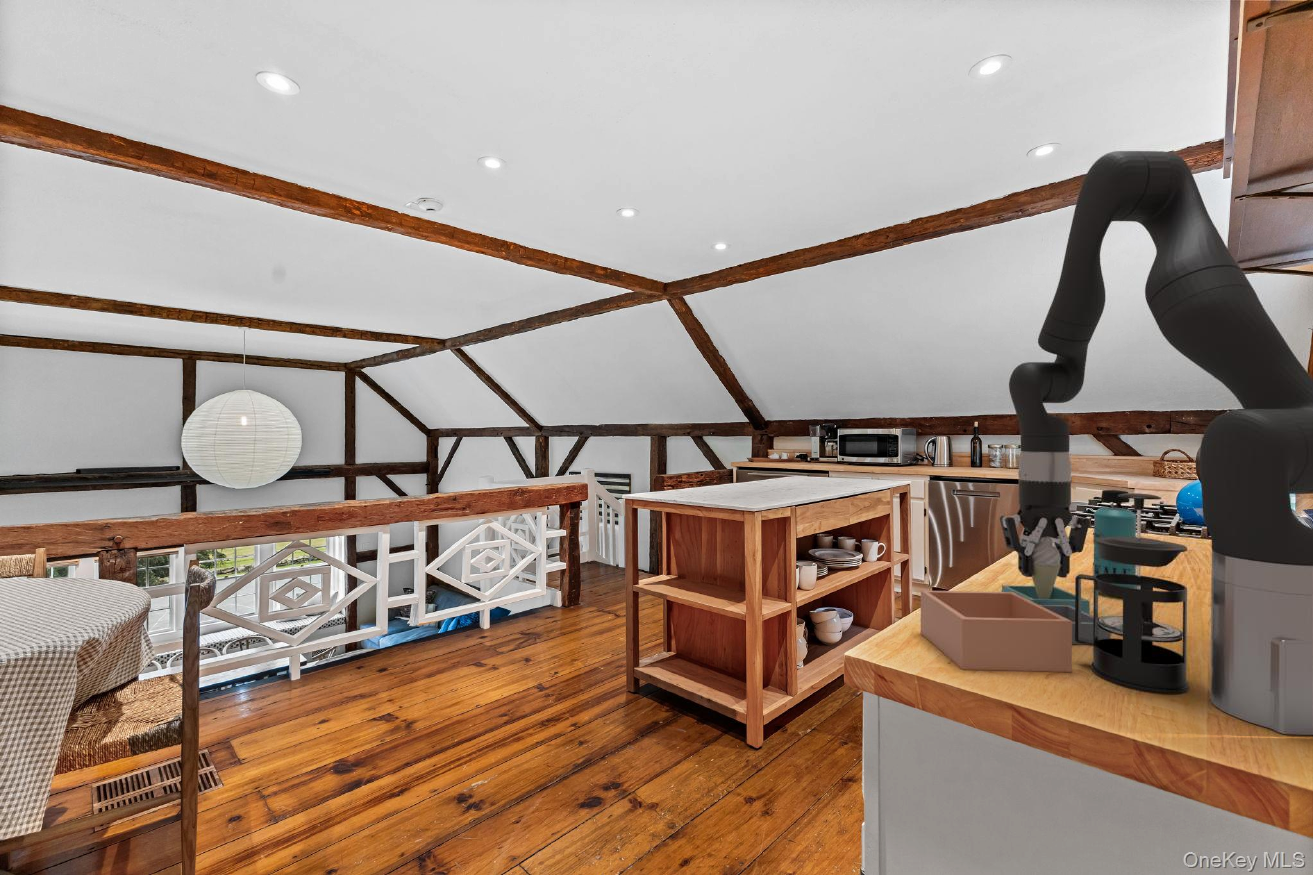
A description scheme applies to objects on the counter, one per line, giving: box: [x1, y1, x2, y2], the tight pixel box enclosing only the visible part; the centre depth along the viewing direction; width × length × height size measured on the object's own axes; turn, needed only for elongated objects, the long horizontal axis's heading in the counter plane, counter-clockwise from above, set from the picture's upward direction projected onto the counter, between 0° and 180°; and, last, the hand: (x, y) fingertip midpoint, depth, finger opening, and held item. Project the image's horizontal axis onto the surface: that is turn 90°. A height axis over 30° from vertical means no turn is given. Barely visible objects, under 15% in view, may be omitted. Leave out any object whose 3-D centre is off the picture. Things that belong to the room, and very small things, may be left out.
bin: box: [920, 590, 1073, 673], centre depth 81 cm, size 14×14×6 cm
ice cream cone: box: [1031, 536, 1062, 599], centre depth 100 cm, size 5×5×15 cm
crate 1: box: [1001, 584, 1091, 615], centre depth 100 cm, size 9×9×3 cm
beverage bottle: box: [1092, 489, 1137, 589], centre depth 108 cm, size 6×7×20 cm
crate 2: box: [1040, 605, 1112, 645], centre depth 88 cm, size 9×9×3 cm
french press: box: [1074, 492, 1190, 695], centre depth 73 cm, size 12×9×23 cm
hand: (1043, 575), depth 100 cm, fingers closed on ice cream cone, 5 cm apart
